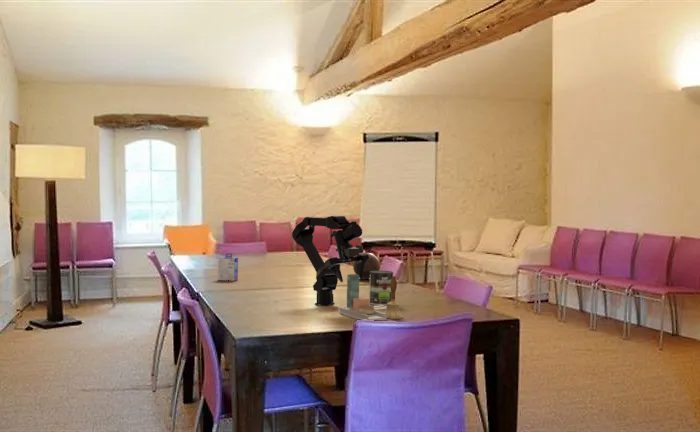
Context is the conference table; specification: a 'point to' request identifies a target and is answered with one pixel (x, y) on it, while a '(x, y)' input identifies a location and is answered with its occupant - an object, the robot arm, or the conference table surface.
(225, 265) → the ink cartridge box
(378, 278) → the coffee can
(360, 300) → the cube
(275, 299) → the conference table surface
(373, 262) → the wooden sphere
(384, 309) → the broken slat
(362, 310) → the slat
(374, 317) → the lane board
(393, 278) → the wooden handled brush
